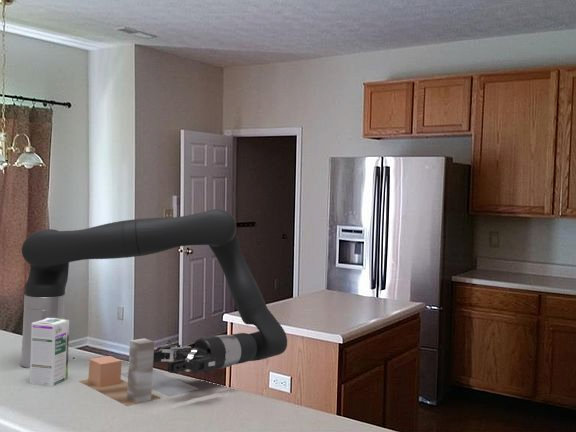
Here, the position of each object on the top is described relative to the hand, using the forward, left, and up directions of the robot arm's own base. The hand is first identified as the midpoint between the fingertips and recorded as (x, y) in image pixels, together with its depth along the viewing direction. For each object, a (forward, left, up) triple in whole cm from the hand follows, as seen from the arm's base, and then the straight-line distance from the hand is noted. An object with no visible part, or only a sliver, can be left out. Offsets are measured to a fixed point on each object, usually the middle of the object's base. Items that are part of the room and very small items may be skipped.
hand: (157, 363), depth 124 cm
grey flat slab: (-8, +6, -8) cm, 13 cm away
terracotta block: (-14, -4, -7) cm, 16 cm away
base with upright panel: (-8, -4, -8) cm, 12 cm away
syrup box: (-22, -13, -8) cm, 27 cm away
